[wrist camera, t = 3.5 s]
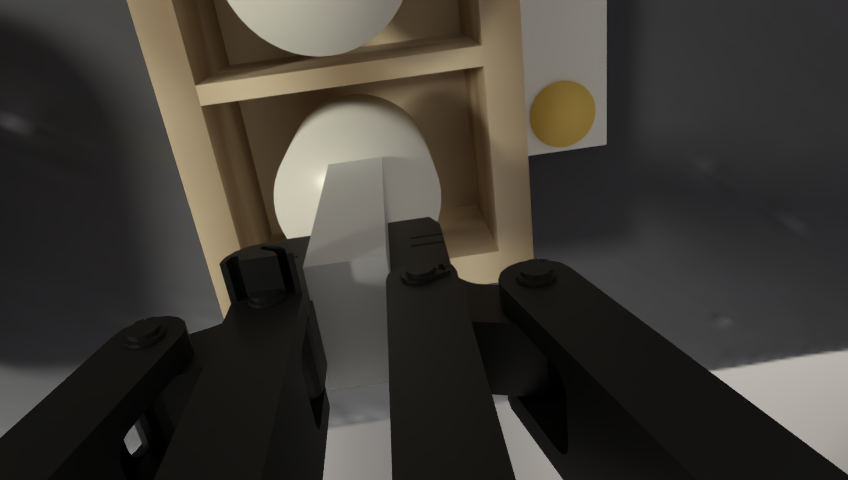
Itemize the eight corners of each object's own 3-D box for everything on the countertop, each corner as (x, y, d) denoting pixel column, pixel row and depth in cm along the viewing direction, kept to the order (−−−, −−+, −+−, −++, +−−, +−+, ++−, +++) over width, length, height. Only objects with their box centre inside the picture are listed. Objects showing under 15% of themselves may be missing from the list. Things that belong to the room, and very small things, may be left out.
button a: (305, 236, 22) (293, 286, 18) (276, 104, 20) (255, 131, 16) (436, 217, 22) (449, 262, 18) (420, 84, 20) (430, 106, 16)
